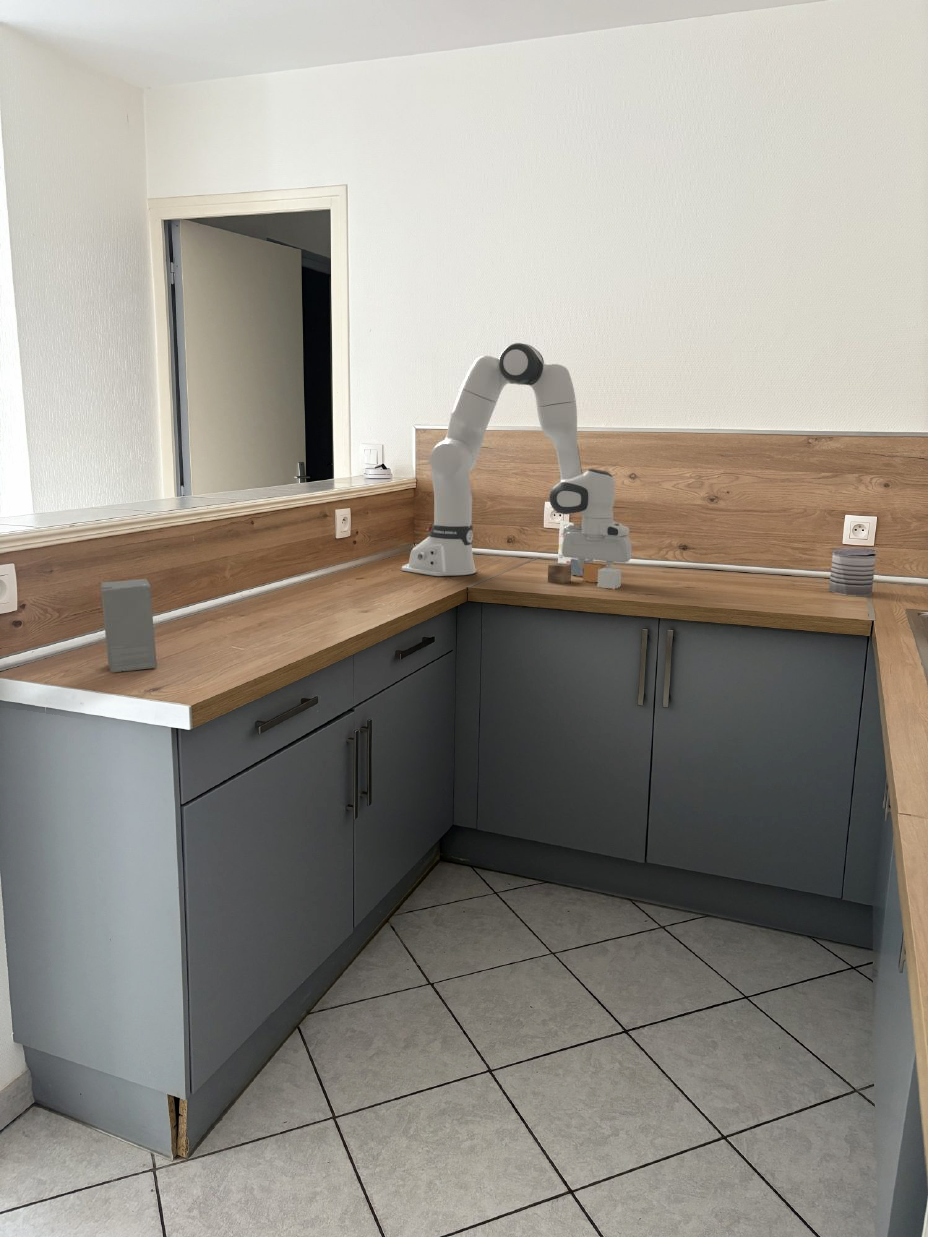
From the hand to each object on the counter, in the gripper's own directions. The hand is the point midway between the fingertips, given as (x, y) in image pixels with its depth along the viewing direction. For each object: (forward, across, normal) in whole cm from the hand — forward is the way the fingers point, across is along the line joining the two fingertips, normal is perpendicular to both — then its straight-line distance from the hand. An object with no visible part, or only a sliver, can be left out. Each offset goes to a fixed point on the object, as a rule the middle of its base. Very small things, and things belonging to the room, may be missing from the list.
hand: (594, 575), depth 270 cm
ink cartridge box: (+2, -14, +16) cm, 21 cm away
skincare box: (+2, -37, -136) cm, 141 cm away
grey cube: (+2, +7, -7) cm, 10 cm away
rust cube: (+2, 0, 0) cm, 2 cm away
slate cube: (+2, -7, +7) cm, 10 cm away
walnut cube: (+2, -8, -7) cm, 11 cm away
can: (+2, +66, +24) cm, 70 cm away
